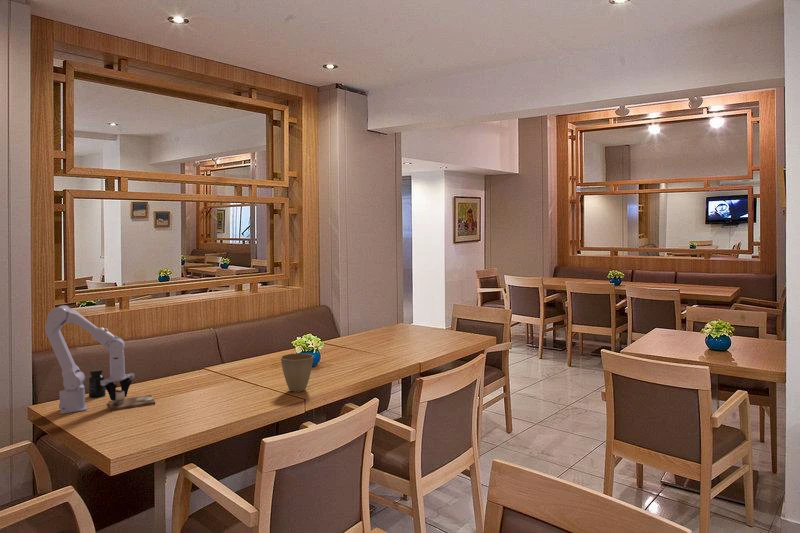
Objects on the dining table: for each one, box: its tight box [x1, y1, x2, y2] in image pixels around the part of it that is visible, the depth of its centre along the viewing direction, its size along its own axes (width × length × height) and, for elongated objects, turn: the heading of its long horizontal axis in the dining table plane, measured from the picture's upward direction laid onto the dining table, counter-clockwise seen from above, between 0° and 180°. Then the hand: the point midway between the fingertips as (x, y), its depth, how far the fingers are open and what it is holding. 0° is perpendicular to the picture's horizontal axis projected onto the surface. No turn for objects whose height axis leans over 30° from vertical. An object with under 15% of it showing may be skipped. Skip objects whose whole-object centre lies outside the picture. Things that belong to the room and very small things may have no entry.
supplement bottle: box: [87, 368, 107, 399], centre depth 253 cm, size 7×7×12 cm
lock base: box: [108, 394, 156, 412], centre depth 241 cm, size 17×13×3 cm
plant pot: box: [280, 353, 314, 392], centre depth 259 cm, size 15×15×16 cm
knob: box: [115, 389, 126, 400], centre depth 238 cm, size 5×5×4 cm
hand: (118, 398), depth 239 cm, fingers closed on knob, 5 cm apart
